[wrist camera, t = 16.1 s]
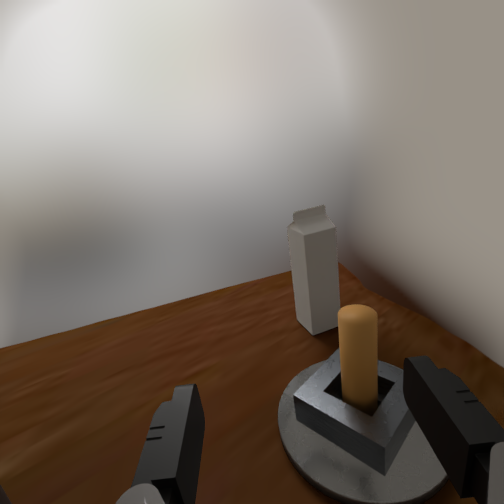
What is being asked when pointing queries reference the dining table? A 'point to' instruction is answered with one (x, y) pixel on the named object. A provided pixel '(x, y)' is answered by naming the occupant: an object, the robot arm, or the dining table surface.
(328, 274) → the milk
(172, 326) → the dining table surface
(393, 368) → the square frame on disc
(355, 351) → the pin
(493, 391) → the dining table surface
